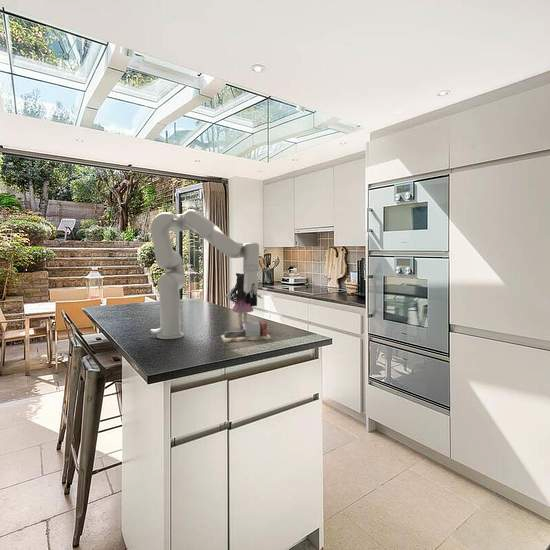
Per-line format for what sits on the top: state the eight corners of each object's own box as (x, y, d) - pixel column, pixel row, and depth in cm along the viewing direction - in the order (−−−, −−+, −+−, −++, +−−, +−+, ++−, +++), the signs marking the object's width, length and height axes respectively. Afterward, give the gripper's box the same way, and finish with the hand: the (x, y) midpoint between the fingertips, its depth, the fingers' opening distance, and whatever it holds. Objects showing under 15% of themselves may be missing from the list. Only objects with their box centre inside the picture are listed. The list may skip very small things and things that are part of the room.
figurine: (264, 326, 204) (264, 272, 203) (262, 330, 194) (261, 273, 192) (224, 326, 206) (224, 272, 205) (220, 329, 196) (219, 273, 195)
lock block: (245, 337, 172) (245, 324, 172) (242, 334, 178) (242, 322, 177) (260, 336, 174) (260, 323, 174) (257, 333, 180) (256, 321, 179)
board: (224, 342, 167) (224, 326, 167) (220, 337, 177) (220, 322, 176) (270, 339, 173) (270, 323, 173) (265, 334, 183) (265, 320, 183)
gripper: (239, 268, 181) (239, 302, 182) (247, 269, 165) (247, 307, 166) (254, 268, 184) (254, 302, 185) (263, 269, 167) (263, 306, 168)
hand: (251, 304), depth 175 cm, fingers open, 9 cm apart
